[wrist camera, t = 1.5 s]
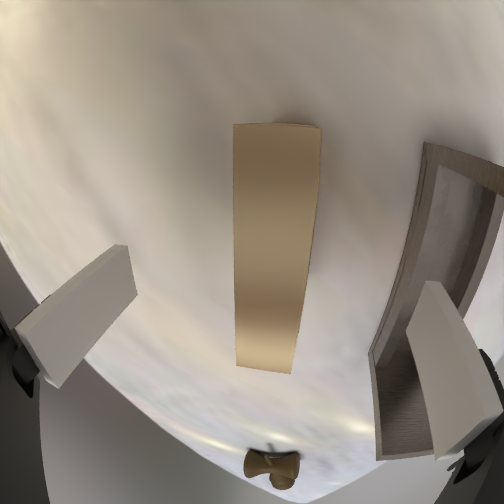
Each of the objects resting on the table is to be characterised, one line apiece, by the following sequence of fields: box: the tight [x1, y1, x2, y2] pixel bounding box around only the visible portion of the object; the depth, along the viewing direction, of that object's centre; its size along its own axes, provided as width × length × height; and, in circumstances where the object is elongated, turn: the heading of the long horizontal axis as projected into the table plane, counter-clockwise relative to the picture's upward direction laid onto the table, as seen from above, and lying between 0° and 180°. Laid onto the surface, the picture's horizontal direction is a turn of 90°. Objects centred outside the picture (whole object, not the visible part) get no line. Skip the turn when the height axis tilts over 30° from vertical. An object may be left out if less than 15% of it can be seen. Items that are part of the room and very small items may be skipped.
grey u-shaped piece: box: [368, 142, 504, 461], centre depth 14 cm, size 20×7×12 cm, turn 179°
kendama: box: [244, 450, 300, 490], centre depth 40 cm, size 6×10×20 cm
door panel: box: [233, 123, 322, 374], centre depth 16 cm, size 12×3×10 cm, turn 179°
